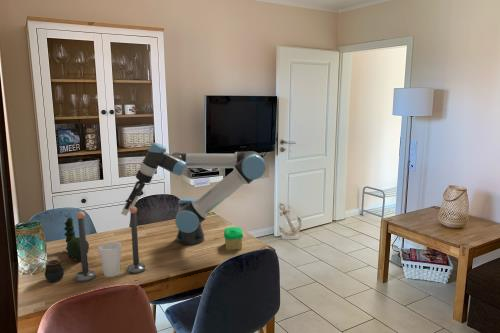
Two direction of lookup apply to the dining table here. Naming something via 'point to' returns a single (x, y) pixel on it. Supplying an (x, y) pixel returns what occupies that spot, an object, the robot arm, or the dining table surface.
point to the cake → (233, 238)
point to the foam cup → (110, 258)
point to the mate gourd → (54, 270)
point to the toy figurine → (73, 241)
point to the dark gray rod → (82, 242)
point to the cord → (134, 236)
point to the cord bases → (92, 274)
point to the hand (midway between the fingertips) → (127, 210)
